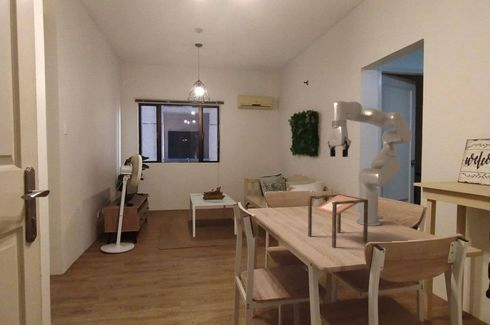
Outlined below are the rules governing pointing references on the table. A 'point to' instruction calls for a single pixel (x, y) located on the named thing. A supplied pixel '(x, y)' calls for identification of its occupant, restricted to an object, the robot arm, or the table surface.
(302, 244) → the table surface
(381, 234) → the table surface
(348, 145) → the robot arm
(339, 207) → the trapdoor
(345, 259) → the table surface
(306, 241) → the table surface
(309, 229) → the stand
